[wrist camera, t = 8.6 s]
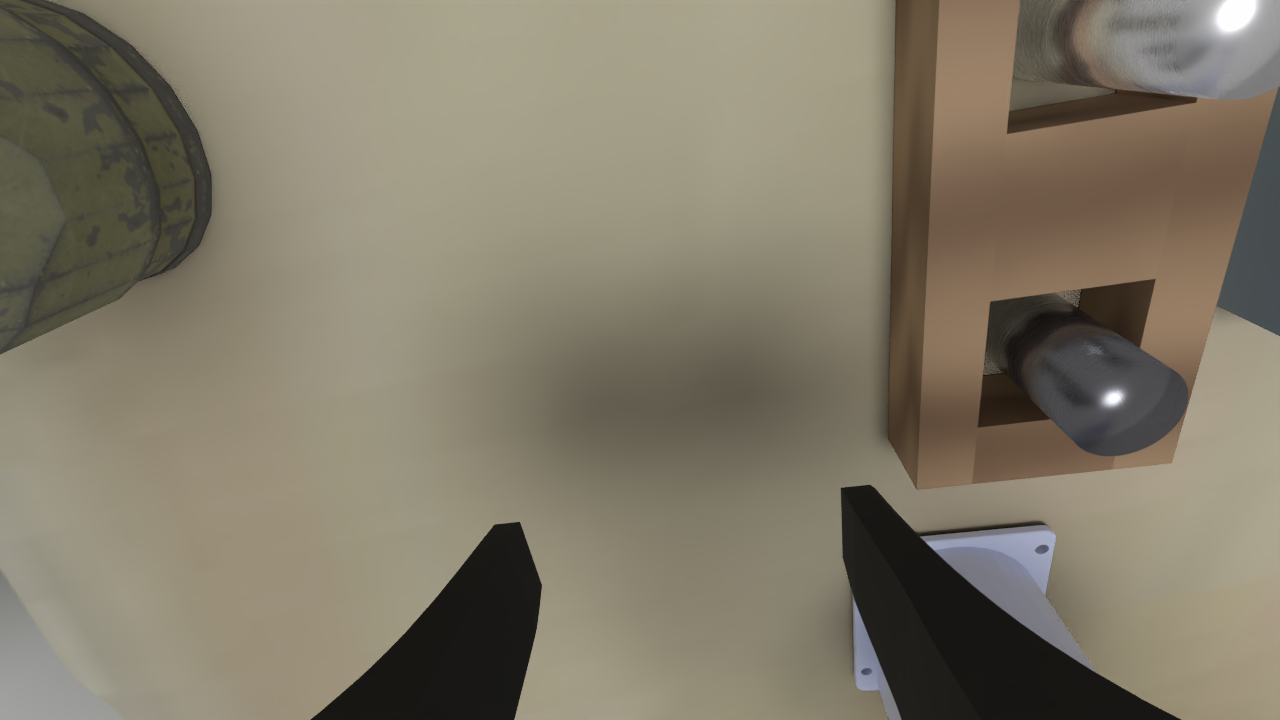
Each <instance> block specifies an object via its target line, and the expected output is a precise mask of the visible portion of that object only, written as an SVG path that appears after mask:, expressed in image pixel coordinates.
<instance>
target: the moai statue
mask: <svg viewBox="0 0 1280 720" xmlns="http://www.w3.org/2000/svg"><path fill="white" fill-rule="evenodd" d="M210 216H211V174H210V171H209V167H208V164H207V161H206V158H205V155H204V151H203V148H202V145H201V142H200V139H199V135H198V132H197V130H196V128H195V127H194V125H193V123H192V122H191V120H190V118H189V117H188V115H187V113H186V112H185V110H184V109H183V107H182V105H181V104H180V102H179V100H178V99H177V97H176V95H175V94H174V92H173V90H172V89H171V87H170V86H169V85H168V84H167V82H166V81H165V80H164V79H163V78H162V77H161V76H160V75H159V74H158V73H157V72H156V71H155V70H154V69H153V68H152V67H151V66H150V65H149V64H148V63H147V62H146V61H145V60H144V59H143V57H142V56H141V55H140V54H139V53H138V52H137V51H136V50H135V49H134V48H133V47H132V46H131V45H130V44H128V43H127V42H125V41H124V40H122V39H121V38H119V37H118V36H116V35H115V34H113V33H112V32H110V31H109V30H107V29H106V28H104V27H103V26H101V25H100V24H98V23H97V22H95V21H94V20H92V19H91V18H89V17H88V16H86V15H85V14H83V13H80V12H77V11H74V10H71V9H68V8H66V7H63V6H60V5H57V4H54V3H51V2H48V1H45V0H0V354H2V353H4V352H6V351H8V350H11V349H13V348H15V347H17V346H19V345H21V344H23V343H26V342H28V341H30V340H32V339H34V338H36V337H38V336H41V335H43V334H45V333H47V332H49V331H51V330H53V329H56V328H58V327H60V326H62V325H64V324H66V323H69V322H71V321H73V320H75V319H77V318H79V317H81V316H84V315H86V314H88V313H90V312H92V311H94V310H96V309H99V308H101V307H103V306H105V305H107V304H109V303H111V302H114V301H116V300H118V299H120V298H121V297H122V296H123V295H124V294H125V293H126V292H127V291H128V290H129V289H130V288H131V287H132V286H133V285H134V284H135V283H136V282H138V281H140V280H143V279H146V278H149V277H152V276H155V275H158V274H161V273H164V272H166V271H168V270H170V269H173V268H175V267H176V266H177V265H179V264H180V263H181V262H182V261H183V260H184V259H185V258H186V257H187V256H188V255H189V254H190V253H191V252H192V251H193V250H195V249H196V248H197V247H198V246H199V244H200V241H201V239H202V236H203V234H204V231H205V228H206V226H207V223H208V221H209V218H210Z"/></svg>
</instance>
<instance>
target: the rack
mask: <svg viewBox="0 0 1280 720" xmlns="http://www.w3.org/2000/svg"><path fill="white" fill-rule="evenodd" d="M1019 4H1020V0H896V40H895V96H894V151H893V207H892V262H891V318H890V373H889V429H888V439H889V441H890V443H891V444H892V446H893V448H894V450H895V452H896V453H897V455H898V457H899V459H900V461H901V462H902V464H903V466H904V468H905V470H906V471H907V473H908V475H909V477H910V478H911V480H912V482H913V484H914V486H915V487H916V489H917V490H919V489H928V488H938V487H948V486H957V485H967V484H976V483H986V482H996V481H1005V480H1015V479H1024V478H1034V477H1044V476H1053V475H1063V474H1072V473H1082V472H1091V471H1101V470H1111V469H1120V468H1130V467H1139V466H1149V465H1159V464H1168V463H1172V460H1173V456H1174V453H1175V449H1176V446H1177V442H1178V439H1179V435H1180V432H1181V428H1182V425H1183V421H1184V418H1185V414H1186V411H1187V407H1188V404H1189V400H1190V396H1191V393H1192V389H1193V386H1194V382H1195V379H1196V375H1197V372H1198V368H1199V365H1200V361H1201V358H1202V354H1203V351H1204V347H1205V344H1206V340H1207V337H1208V333H1209V330H1210V326H1211V323H1212V319H1213V316H1214V312H1215V308H1216V305H1217V301H1218V298H1219V294H1220V291H1221V287H1222V284H1223V280H1224V277H1225V273H1226V270H1227V266H1228V263H1229V259H1230V256H1231V252H1232V249H1233V245H1234V242H1235V238H1236V235H1237V231H1238V228H1239V224H1240V221H1241V217H1242V213H1243V210H1244V206H1245V203H1246V199H1247V196H1248V192H1249V189H1250V185H1251V182H1252V178H1253V175H1254V171H1255V168H1256V164H1257V161H1258V157H1259V154H1260V150H1261V147H1262V143H1263V140H1264V136H1265V133H1266V129H1267V126H1268V122H1269V118H1270V115H1271V111H1272V108H1273V104H1274V101H1275V97H1276V94H1277V90H1278V87H1277V88H1275V89H1273V90H1271V91H1269V92H1266V93H1264V94H1261V95H1258V96H1255V97H1251V98H1246V99H1241V100H1218V99H1208V98H1198V97H1189V96H1179V95H1169V94H1159V93H1149V92H1139V91H1129V90H1119V89H1117V90H1116V94H1110V95H1104V96H1098V97H1093V98H1087V99H1081V100H1075V101H1069V102H1063V103H1058V104H1052V105H1046V106H1040V107H1034V108H1028V109H1022V110H1017V111H1011V112H1009V106H1010V95H1011V85H1012V75H1013V65H1014V55H1015V45H1016V35H1017V25H1018V15H1019ZM1077 289H1082V293H1081V299H1080V305H1079V309H1080V310H1082V311H1083V312H1085V313H1086V314H1088V315H1089V316H1091V317H1092V318H1094V319H1095V320H1097V321H1099V322H1100V323H1102V324H1103V325H1105V326H1106V327H1108V328H1109V329H1111V330H1113V331H1114V332H1116V333H1117V334H1119V335H1120V336H1122V337H1123V338H1125V339H1126V340H1128V341H1130V342H1131V343H1133V344H1134V345H1136V346H1137V347H1139V348H1140V349H1142V350H1143V351H1145V352H1147V353H1148V354H1150V355H1151V356H1153V357H1154V358H1156V359H1157V360H1159V361H1161V362H1162V363H1164V364H1165V365H1167V366H1168V367H1170V368H1171V369H1173V370H1174V371H1176V372H1177V373H1179V374H1180V375H1181V376H1182V378H1183V379H1184V381H1185V382H1186V385H1187V387H1188V393H1189V396H1188V404H1187V407H1186V410H1185V412H1184V414H1183V416H1182V418H1181V419H1180V421H1179V422H1178V424H1177V425H1176V426H1175V427H1174V428H1173V429H1172V430H1171V431H1170V432H1169V433H1168V434H1167V435H1166V436H1164V437H1163V438H1162V439H1160V440H1159V441H1157V442H1156V443H1154V444H1152V445H1151V446H1149V447H1147V448H1144V449H1142V450H1140V451H1137V452H1134V453H1130V454H1126V455H1121V456H1099V455H1095V454H1091V453H1089V452H1086V451H1084V450H1083V449H1081V448H1080V447H1079V446H1078V445H1077V444H1075V443H1074V442H1073V441H1072V440H1071V439H1070V438H1069V437H1068V436H1067V435H1066V434H1065V433H1064V432H1063V431H1062V430H1061V429H1060V428H1059V427H1058V426H1057V425H1056V424H1055V423H1054V422H1053V421H1052V420H1051V419H1050V418H1049V417H1048V416H1047V415H1046V414H1045V413H1044V412H1043V411H1042V410H1041V409H1040V408H1039V407H1038V406H1037V405H1036V404H1035V403H1034V402H1033V401H1032V400H1031V399H1030V398H1029V397H1028V396H1027V395H1026V394H1025V393H1024V392H1022V391H1021V390H1020V389H1019V388H1018V387H1017V386H1016V385H1015V384H1014V383H1013V382H1012V381H1011V380H1010V379H1009V378H1008V377H1007V376H1006V375H1005V374H1004V373H1003V374H995V375H987V376H983V368H984V358H985V348H986V338H987V328H988V318H989V308H990V301H997V300H1005V299H1012V298H1019V297H1026V296H1034V295H1041V294H1048V293H1056V292H1063V291H1070V290H1077Z"/></svg>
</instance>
